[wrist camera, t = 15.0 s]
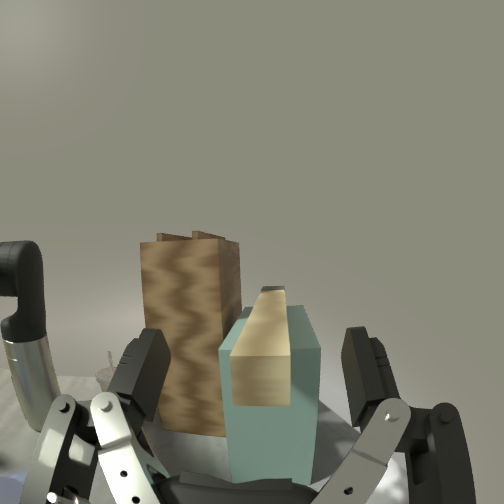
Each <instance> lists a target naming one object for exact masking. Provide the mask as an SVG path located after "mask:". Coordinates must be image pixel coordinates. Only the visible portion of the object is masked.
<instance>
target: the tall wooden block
mask: <svg viewBox="0 0 504 504" xmlns="http://www.w3.org/2000/svg"><path fill="white" fill-rule="evenodd" d="M140 255H141V256H140V257H141V277H142V291H143V304H144V315H145V325H146V328H154V329H161V330H162V332H163V334H164V337H165V339H166V342H167V344H168V346H169V349H170V352H171V363H170V366H169V369H168V372H167V375H166V378H165V382H164V385H163V388H162V391H161V394H160V398H159V401H158V408H159V412H160V417H161V422H162V426H163V429H165V430H171V431H177V432H184V433H191V434H200V435H209V436H220V437H226V429H225V419H224V410H223V400H222V389H221V378H220V366H219V353H218V349H219V348H220V346H221V345H222V343H223V341H224V340H225V338H226V337H227V335H228V334H229V332H230V330H231V329H232V327H233V326H234V324H235V323H236V321H237V319H238V318H239V316H240V315H241V313H242V304H241V283H240V282H241V281H240V257H239V243H237V242H232V241H227V240H225V238H224V237H220V236H216V235H212V234H208V233H204V232H200V231H192V238H190V237H184V236H177V235H171V234H164V233H157V242H145V243H140Z"/></svg>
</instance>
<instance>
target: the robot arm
mask: <svg viewBox="0 0 504 504" xmlns="http://www.w3.org/2000/svg"><path fill="white" fill-rule="evenodd" d="M43 280H44V278H43V261H42V255H41V252H40V250H39V247H38V245H37V244H36V243H35V242H33V241H13V242H1V243H0V296H11V297H15V296H16V297H18V309H17V311H16V312H15V313H14V314H13V315H12V316H9V317H7V318H5V319H4V320H2V322H1V333H2V338H3V343H4V347H5V351H6V355H7V359H8V363H9V367H10V371H11V374H12V375H11V379H12V382H13V385H14V388H15V392H16V395H17V397H18V400H19V403H20V406H21V408H22V411H23V414H24V416H25V419H27V421H28V423H29V425H30V427H31V428H33V429H34V430H36V431H40V432H41V433H40V436H39V439H38V441H37V444H36V447H35V450H34V453H33V456H32V459H31V462H30V465H29V469H28V472H27V475H26V479H25V483H24V486H23V490H22V494H21V498H20V503H19V504H90V502H89V496H90V491H91V487H92V483H93V478H94V474H95V470H96V466H97V462H98V458H99V459H100V462H101V465H102V468H103V471H104V473H105V476H106V479H107V481H108V484H109V486H110V489H111V491H112V493H113V496H114V498H115V500H116V502H117V504H365V503H366V502H367V500H368V499H369V497H370V496H371V494H372V493H373V491H374V490H375V488H376V487H377V485H378V483H379V482H380V480H381V479H382V477H383V475H384V474H385V472H386V470H387V467H388V465H387V464H388V461H389V460H390V458H391V456H392V454H393V452H404V453H405V459H406V467H407V477H408V489H409V504H476V496H475V488H474V481H473V474H472V468H471V463H470V457H469V452H468V448H467V443H466V439H465V435H464V430H463V427H462V422H461V419H460V415H459V412H458V410H457V409H456V407H455V406H453V405H452V404H450V403H440V404H438V405H436V406H435V407H434V408H433V409H421V408H413V407H410V406H408V405H407V403H406V402H404V401H403V400H402V399H401V398H400V396H399V393H398V390H397V386H396V383H395V379H394V376H393V373H392V370H391V366H390V363H389V360H388V358H387V354H386V351H385V348H384V346H383V344H382V343H381V342H380V341H379V340H378V339H377V338H376V337H375V338H369V337H368V334H367V331H366V328H365V327H364V326H363V327H351V328H347V329H346V334H345V338H344V343H343V347H342V352H341V361H342V368H343V372H344V378H345V384H346V390H347V396H348V402H349V408H350V414H351V421H352V427H358V426H360V430H361V434H360V436H359V438H358V439H357V441H356V442H355V444H354V445H353V447H352V448H351V450H350V451H349V453H348V454H347V456H346V457H345V458H344V460H343V461H342V463H341V464H340V465H339V467H338V468H337V469H336V471H335V472H334V473H333V475H332V476H331V477H330V478H329V480H328V481H327V482H326V484H325V485H324V486H323V487H322V489H321V490H320V491H319V492H317V491H315V490H313V489H312V488H310V487H307V486H305V485H302V484H298V483H293V482H292V478H280V479H259V480H254V481H248V482H242V483H231V482H227V481H224V480H221V479H218V478H215V477H212V476H210V475H206V474H199V473H192V472H186V471H181V474H180V475H178V476H172V477H170V475H169V474H168V472H167V471H166V469H165V468H164V466H163V465H162V464H161V463H160V461H159V460H158V458H157V456H156V454H155V452H154V450H153V448H152V446H151V444H150V442H149V439H148V437H147V435H146V433H145V431H144V428H143V427H142V424H143V421H144V420H147V421H153V418H154V414H155V411H156V407H157V404H158V401H159V398H160V394H161V391H162V388H163V385H164V382H165V378H166V375H167V372H168V369H169V366H170V363H171V352H170V349H169V346H168V344H167V342H166V339H165V337H164V334H163V332H162V330H161V329H154V328H144V329H143V330H142V332H141V334H140V336H139V339H137V338H134V339H133V340H132V341H131V342H130V343H129V344H128V345H127V347H126V349H125V351H124V353H123V357H121V360H120V362H119V364H118V366H117V368H116V370H115V373H114V375H113V377H112V379H111V382H110V384H109V386H108V388H107V390H106V392H102V393H100V394H98V395H96V396H95V397H94V398H93V400H89V401H75V399H74V398H73V397H72V396H70V395H67V394H63V395H61V392H60V388H59V385H58V381H57V378H56V374H55V370H54V366H53V362H52V357H51V352H50V348H49V343H48V338H47V332H46V311H45V301H44V281H43ZM74 434H75V436H74ZM73 436H74V439H73ZM72 439H73V442H72ZM71 442H72V445H71ZM70 446H71V448H70ZM69 449H70V452H69Z"/></svg>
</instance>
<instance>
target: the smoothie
mask: <svg viewBox="0 0 504 504" xmlns="http://www.w3.org/2000/svg"><path fill="white" fill-rule="evenodd" d="M108 357H109V363H110V368H105V369H102V370H100V371H98V372H97V373H96V380H97V382H98V383H99V384H100V387H101V389H102V392H106V390H107V388H108V386H109V384H110V382H111V379H112V377H113V375H114V373H115V370H116V368H117V367H113V362H112V357H111V352H110V351H108Z"/></svg>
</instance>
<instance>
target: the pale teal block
mask: <svg viewBox="0 0 504 504" xmlns="http://www.w3.org/2000/svg"><path fill="white" fill-rule="evenodd" d="M252 309H253V307H245V308H244V310H243V311H242V313H241V315H240V316H239V318H238V319H237V321H236V323H235V324H234V326H233V327H232V329H231V330H230V332H229V334H228V335H227V337H226V338H225V340H224V341H223V343H222V345H221V346H220V348H219V349H218V353H219V366H220V378H221V389H222V400H223V410H224V419H225V429H226V438H227V446H228V454H229V462H230V470H231V478H232V483H242V482H248V481H254V480H259V479H280V478H292V482H293V483H298V484H302V485H310V483H311V475H312V467H313V458H314V449H315V439H316V428H317V416H318V401H319V383H320V361H321V347H320V344H319V342H318V340H317V337H316V335H315V332H314V330H313V328H312V325H311V323H310V321H309V318H308V316H307V314H306V311H305V309H304V307H303V305H300V306H286V311H287V322H288V332H289V343H290V355H291V378H290V406H233V397H232V384H231V371H230V354H231V352H232V350H233V348H234V346H235V344H236V342H237V340H238V338H239V336H240V334H241V332H242V330H243V328H244V326H245V324H246V322H247V320H248V318H249V316H250V313H251V311H252Z"/></svg>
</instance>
